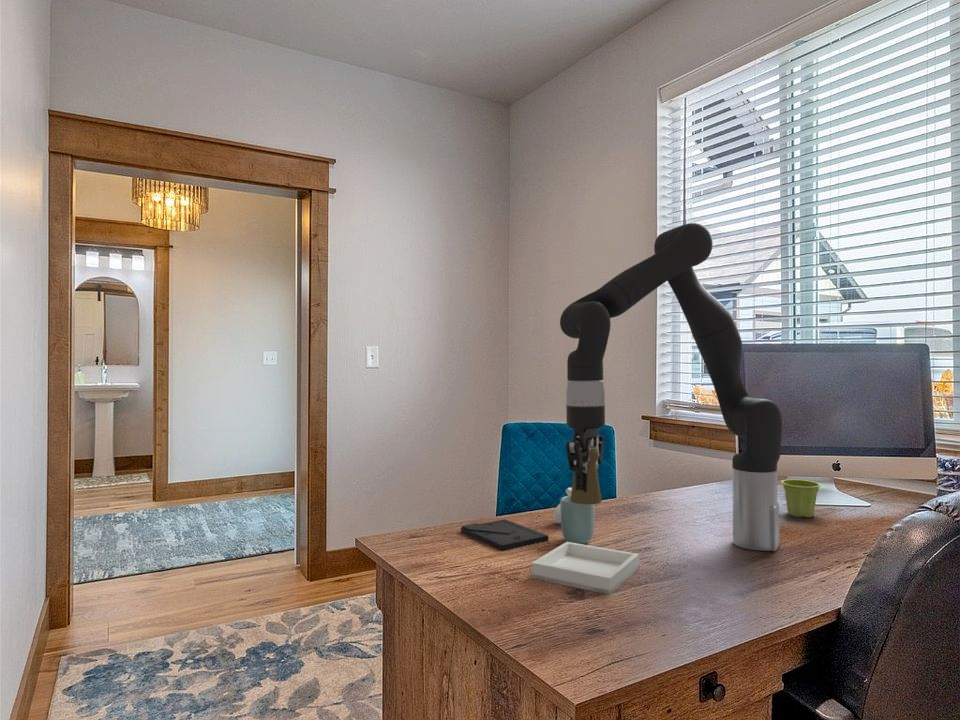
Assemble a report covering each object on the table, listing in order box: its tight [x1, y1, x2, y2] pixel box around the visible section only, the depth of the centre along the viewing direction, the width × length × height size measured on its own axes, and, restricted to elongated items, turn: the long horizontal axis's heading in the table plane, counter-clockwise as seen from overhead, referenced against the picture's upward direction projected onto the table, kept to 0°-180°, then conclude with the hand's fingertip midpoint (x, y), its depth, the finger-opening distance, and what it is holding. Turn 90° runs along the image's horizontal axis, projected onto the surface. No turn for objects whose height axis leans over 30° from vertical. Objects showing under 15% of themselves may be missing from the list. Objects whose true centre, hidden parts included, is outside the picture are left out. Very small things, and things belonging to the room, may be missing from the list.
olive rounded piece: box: [571, 446, 602, 505], centre depth 119 cm, size 6×6×11 cm
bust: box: [553, 487, 572, 525], centre depth 156 cm, size 12×8×11 cm
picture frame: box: [460, 519, 549, 552], centre depth 145 cm, size 13×2×18 cm
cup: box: [559, 495, 595, 545], centre depth 140 cm, size 8×8×10 cm
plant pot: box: [781, 479, 822, 519], centre depth 163 cm, size 9×9×9 cm
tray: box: [531, 541, 641, 596], centre depth 119 cm, size 16×16×3 cm
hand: (586, 489), depth 119 cm, fingers closed on olive rounded piece, 4 cm apart
